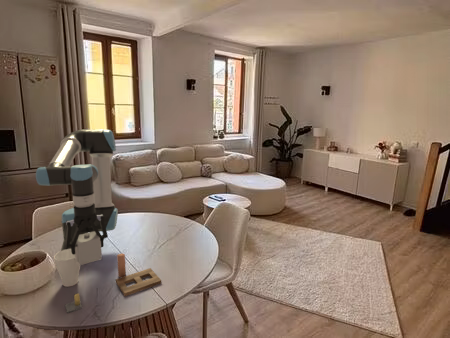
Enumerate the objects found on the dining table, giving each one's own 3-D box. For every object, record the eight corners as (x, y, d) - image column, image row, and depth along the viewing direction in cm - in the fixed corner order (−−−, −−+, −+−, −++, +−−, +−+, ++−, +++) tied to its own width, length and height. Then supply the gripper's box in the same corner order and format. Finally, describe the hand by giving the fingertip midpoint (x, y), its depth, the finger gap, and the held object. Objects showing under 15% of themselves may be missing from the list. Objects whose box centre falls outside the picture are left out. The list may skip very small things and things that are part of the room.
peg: (117, 274, 133) (116, 254, 131) (124, 272, 135) (123, 252, 133) (119, 278, 130) (118, 257, 128) (126, 275, 132) (125, 255, 130)
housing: (75, 256, 119) (73, 234, 117) (96, 251, 124) (94, 229, 122) (79, 265, 113) (77, 241, 111) (101, 259, 117) (99, 236, 115)
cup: (55, 292, 119) (52, 262, 117) (58, 278, 129) (55, 250, 126) (83, 286, 124) (80, 257, 121) (84, 273, 133) (82, 246, 130)
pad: (65, 306, 111) (63, 295, 111) (79, 301, 114) (78, 290, 113) (67, 313, 108) (66, 302, 107) (82, 308, 111) (81, 297, 110)
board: (115, 282, 127) (115, 279, 127) (150, 270, 137) (150, 268, 136) (124, 296, 118) (124, 293, 117) (161, 283, 127) (161, 280, 127)
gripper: (55, 212, 104) (61, 269, 109) (114, 202, 117) (117, 254, 121) (52, 206, 110) (58, 261, 115) (109, 197, 123) (112, 247, 127)
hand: (88, 257), depth 118 cm, fingers closed on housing, 8 cm apart
